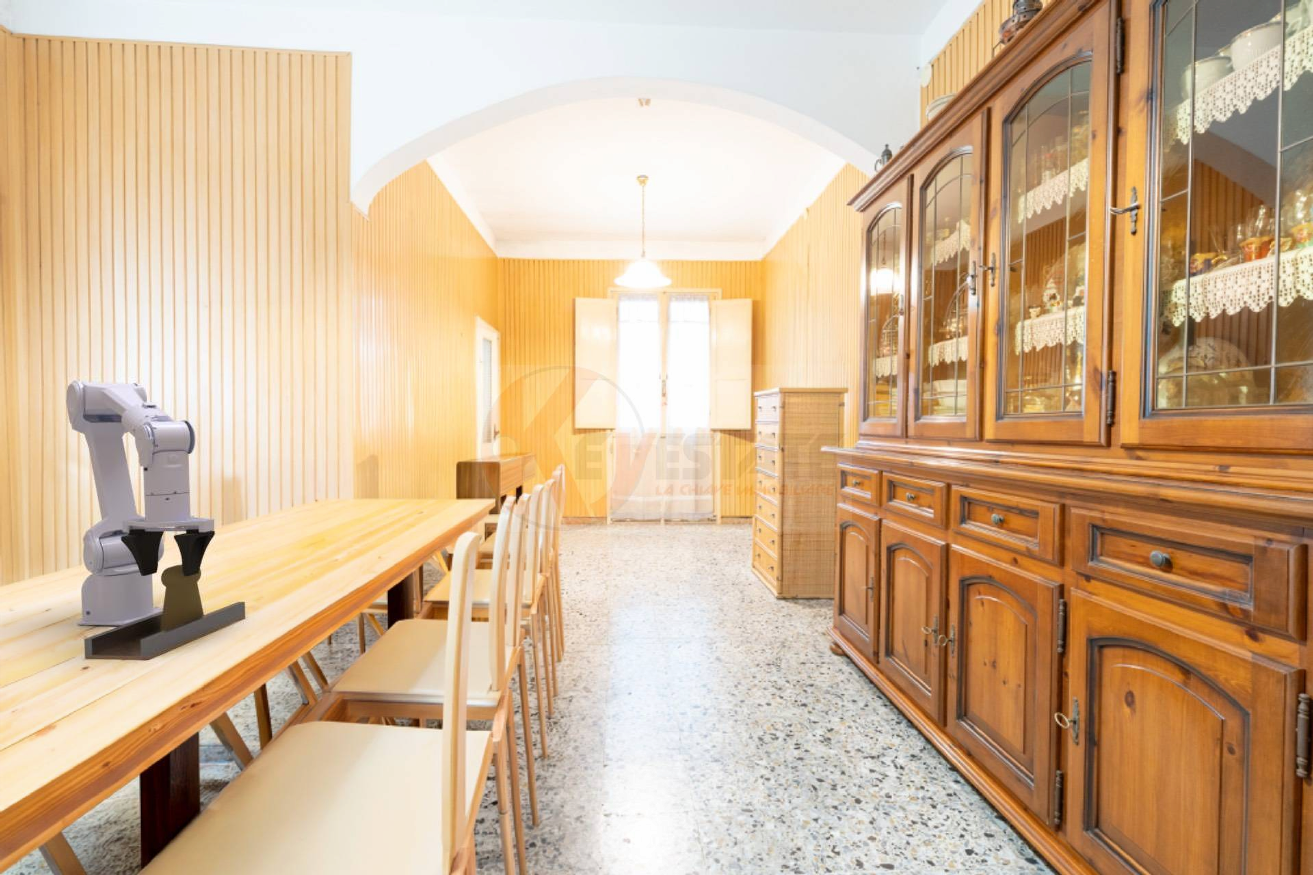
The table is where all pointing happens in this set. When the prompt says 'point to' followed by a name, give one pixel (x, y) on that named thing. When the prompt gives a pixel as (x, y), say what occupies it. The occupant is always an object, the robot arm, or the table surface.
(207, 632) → the rail
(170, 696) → the table surface
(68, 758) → the table surface
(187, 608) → the olive knobbed tapered piece
